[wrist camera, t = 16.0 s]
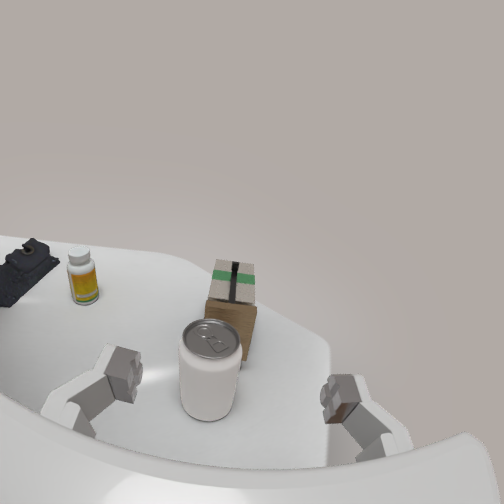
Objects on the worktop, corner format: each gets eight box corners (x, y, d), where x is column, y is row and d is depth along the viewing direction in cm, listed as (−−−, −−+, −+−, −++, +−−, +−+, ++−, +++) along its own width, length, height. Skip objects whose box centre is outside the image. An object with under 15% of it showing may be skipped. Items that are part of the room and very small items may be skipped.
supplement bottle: (68, 297, 42) (59, 251, 38) (88, 285, 46) (82, 241, 42) (83, 310, 40) (74, 261, 36) (104, 296, 45) (98, 250, 41)
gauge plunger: (246, 361, 35) (258, 304, 31) (201, 355, 35) (206, 297, 30) (246, 317, 44) (256, 264, 40) (209, 312, 43) (215, 258, 39)
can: (210, 375, 35) (217, 308, 30) (242, 406, 31) (258, 343, 26) (171, 395, 30) (165, 328, 25) (202, 431, 26) (205, 372, 21)
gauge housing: (247, 356, 39) (258, 303, 35) (200, 350, 39) (204, 295, 34) (247, 313, 49) (256, 264, 44) (208, 308, 48) (213, 258, 44)
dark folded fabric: (-28, 294, 33) (-35, 275, 31) (26, 250, 52) (23, 233, 50) (8, 314, 33) (1, 292, 31) (65, 260, 53) (63, 241, 51)
